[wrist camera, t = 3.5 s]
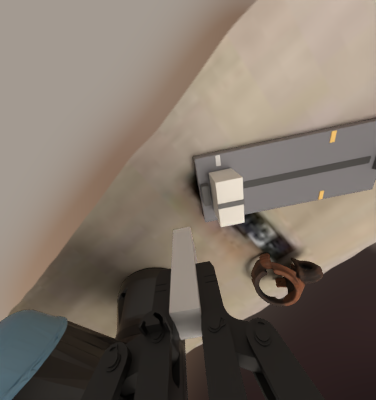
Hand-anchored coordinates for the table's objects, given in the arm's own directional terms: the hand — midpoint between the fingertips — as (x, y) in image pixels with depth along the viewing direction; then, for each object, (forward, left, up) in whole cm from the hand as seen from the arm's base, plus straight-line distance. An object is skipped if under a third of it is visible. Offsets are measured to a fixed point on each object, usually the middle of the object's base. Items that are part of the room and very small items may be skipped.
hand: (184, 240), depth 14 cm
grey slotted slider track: (+16, 0, -11) cm, 19 cm away
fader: (+6, 0, -9) cm, 11 cm away
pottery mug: (+16, -20, -12) cm, 28 cm away
